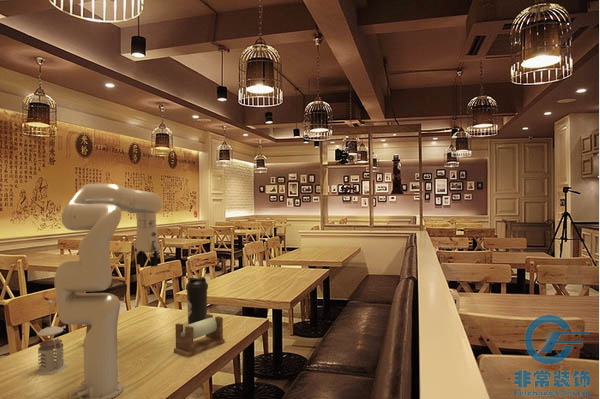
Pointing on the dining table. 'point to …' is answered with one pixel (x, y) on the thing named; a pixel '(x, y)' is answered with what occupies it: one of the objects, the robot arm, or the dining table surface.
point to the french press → (50, 351)
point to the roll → (202, 327)
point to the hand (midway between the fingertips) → (147, 265)
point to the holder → (191, 347)
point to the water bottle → (196, 299)
